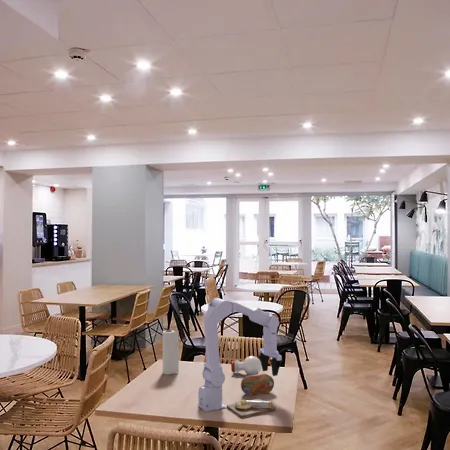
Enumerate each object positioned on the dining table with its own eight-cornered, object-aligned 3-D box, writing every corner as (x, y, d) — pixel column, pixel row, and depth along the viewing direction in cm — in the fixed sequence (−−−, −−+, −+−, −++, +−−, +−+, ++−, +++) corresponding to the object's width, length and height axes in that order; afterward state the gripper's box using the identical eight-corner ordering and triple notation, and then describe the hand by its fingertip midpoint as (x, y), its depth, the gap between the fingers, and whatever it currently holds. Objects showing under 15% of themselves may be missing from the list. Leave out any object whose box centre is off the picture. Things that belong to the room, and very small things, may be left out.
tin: (242, 396, 205) (242, 377, 205) (240, 394, 208) (240, 375, 208) (274, 393, 209) (274, 374, 209) (271, 390, 212) (271, 372, 212)
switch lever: (234, 409, 187) (234, 403, 187) (235, 403, 194) (235, 397, 194) (270, 411, 185) (270, 405, 185) (270, 404, 192) (270, 398, 192)
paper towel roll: (160, 374, 236) (160, 331, 236) (165, 370, 242) (165, 329, 242) (173, 375, 234) (173, 332, 234) (178, 372, 239) (178, 330, 240)
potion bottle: (262, 379, 232) (233, 380, 236) (264, 363, 240) (236, 364, 244) (258, 367, 227) (229, 368, 231) (260, 351, 235) (231, 352, 239)
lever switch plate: (241, 418, 181) (241, 415, 181) (226, 407, 192) (226, 405, 192) (275, 410, 189) (275, 407, 189) (259, 400, 200) (259, 398, 200)
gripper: (287, 344, 201) (287, 376, 201) (268, 337, 214) (268, 367, 214) (273, 346, 198) (273, 378, 198) (255, 339, 210) (255, 369, 210)
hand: (269, 373), depth 205 cm, fingers open, 7 cm apart
